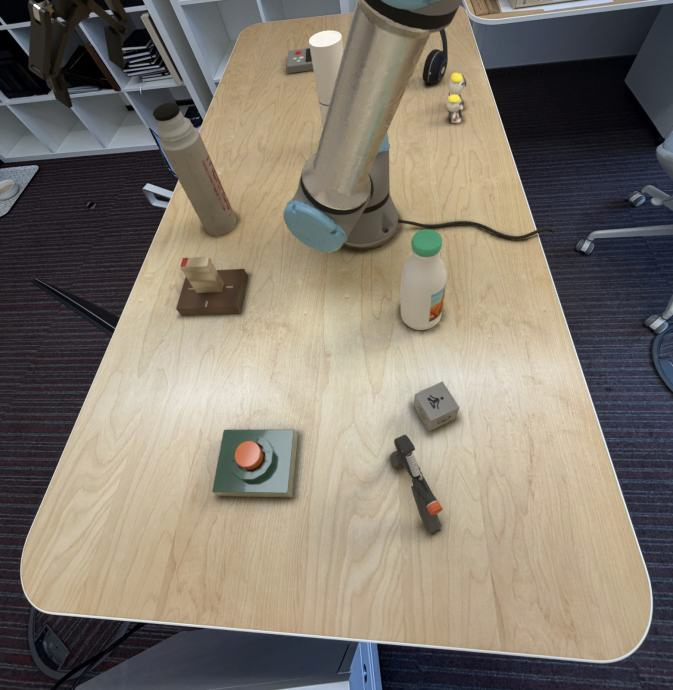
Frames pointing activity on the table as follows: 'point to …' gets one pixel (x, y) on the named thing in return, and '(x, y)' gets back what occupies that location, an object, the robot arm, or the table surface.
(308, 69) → the electronic device
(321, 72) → the cylindrical container
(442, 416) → the dice cube
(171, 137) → the thermos bottle
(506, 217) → the table surface
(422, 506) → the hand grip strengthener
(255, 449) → the orange button cap
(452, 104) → the toy figures
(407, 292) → the milk bottle
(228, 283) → the panel
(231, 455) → the button housing
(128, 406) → the table surface
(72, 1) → the robot arm
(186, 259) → the knob
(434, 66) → the headphones
